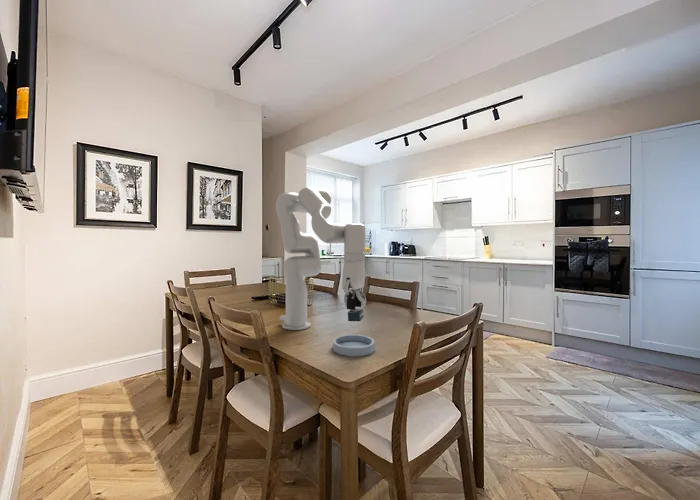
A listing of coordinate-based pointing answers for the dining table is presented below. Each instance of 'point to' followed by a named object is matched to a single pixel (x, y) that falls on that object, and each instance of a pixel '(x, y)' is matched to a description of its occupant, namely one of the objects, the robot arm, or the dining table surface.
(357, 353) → the dish
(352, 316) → the watch
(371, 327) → the dining table surface
